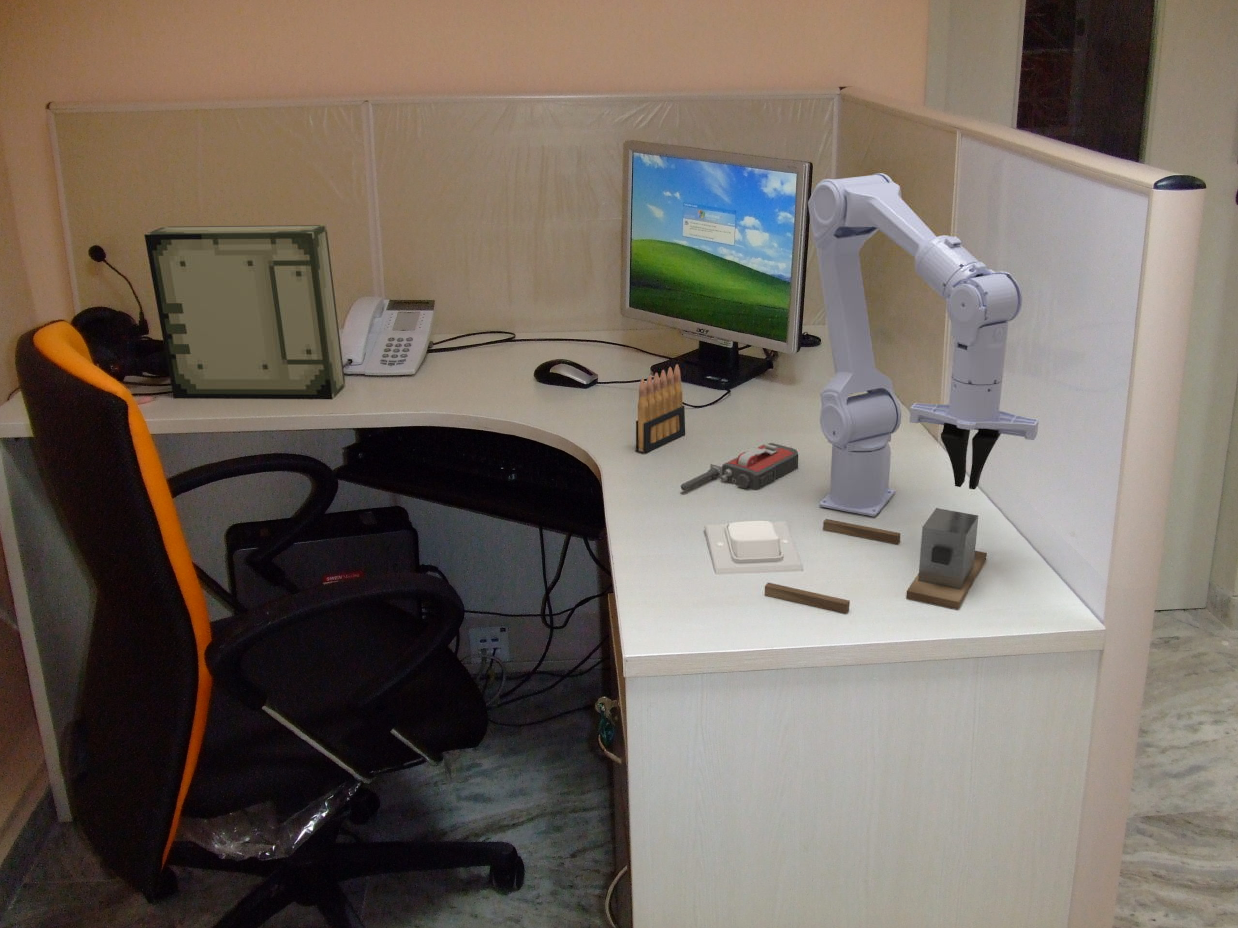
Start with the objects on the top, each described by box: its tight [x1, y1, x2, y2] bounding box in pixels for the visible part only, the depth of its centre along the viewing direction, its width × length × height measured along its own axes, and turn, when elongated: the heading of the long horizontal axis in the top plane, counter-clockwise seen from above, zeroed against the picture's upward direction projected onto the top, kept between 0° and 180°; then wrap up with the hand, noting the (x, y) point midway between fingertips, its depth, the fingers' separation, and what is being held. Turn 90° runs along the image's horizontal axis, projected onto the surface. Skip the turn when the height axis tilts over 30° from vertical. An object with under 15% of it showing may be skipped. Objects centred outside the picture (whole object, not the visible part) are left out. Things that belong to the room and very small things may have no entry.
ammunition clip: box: [635, 363, 686, 455], centre depth 181 cm, size 11×2×12 cm, turn 140°
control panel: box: [144, 224, 346, 400], centre depth 208 cm, size 30×8×30 cm, turn 84°
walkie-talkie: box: [680, 442, 799, 491], centre depth 168 cm, size 9×4×20 cm
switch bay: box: [764, 518, 901, 614], centre depth 142 cm, size 21×10×1 cm, turn 151°
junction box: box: [918, 507, 979, 590], centre depth 136 cm, size 7×5×7 cm
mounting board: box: [905, 550, 988, 611], centre depth 138 cm, size 14×6×1 cm, turn 151°
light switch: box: [704, 520, 804, 575], centre depth 147 cm, size 11×4×13 cm
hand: (966, 485), depth 140 cm, fingers closed
